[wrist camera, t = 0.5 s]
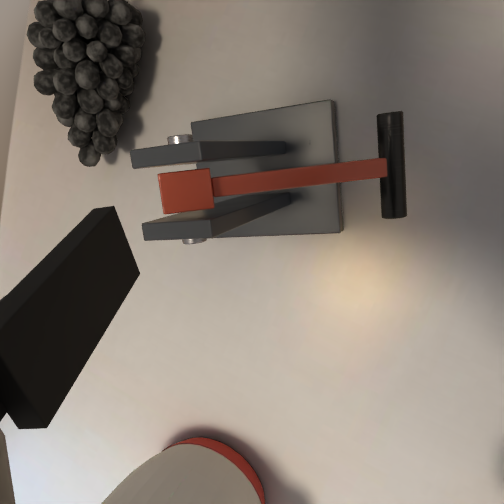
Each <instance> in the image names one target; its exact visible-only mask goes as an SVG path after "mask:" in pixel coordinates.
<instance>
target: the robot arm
mask: <svg viewBox="0 0 504 504" xmlns="http://www.w3.org/2000/svg"><path fill="white" fill-rule="evenodd" d="M139 275H140V272H139V269H138V267H137V264H136V262H135V259H134V256H133V254H132V251H131V249H130V246H129V243H128V241H127V238H126V236H125V233H124V230H123V228H122V225H121V222H120V220H119V217H118V215H117V212H116V209H115V207H114V206H110V207H103V208H96V209H93V210H92V211H91V212H90V213H89V214H88V215H87V216H86V217H85V218H84V219H83V220H82V221H81V222H80V223H79V224H78V225H77V226H76V227H75V228H74V229H73V230H72V231H71V232H70V233H69V234H68V235H67V236H66V237H65V238H64V239H63V240H62V241H61V242H60V243H59V244H58V245H57V246H56V247H55V248H54V249H53V250H52V251H51V252H50V253H49V254H48V255H47V256H46V257H45V258H44V259H43V260H42V261H41V262H40V263H39V264H38V265H37V266H36V267H35V268H34V269H33V270H32V271H31V272H30V273H29V274H28V275H27V276H26V277H25V278H24V279H23V280H22V281H21V282H20V283H19V284H18V285H17V286H16V287H15V288H14V289H13V290H12V291H11V292H10V293H9V294H8V295H6V296H5V297H3V298H2V299H1V300H0V421H1V420H2V418H3V417H4V416H5V414H6V413H8V414H9V416H10V417H11V419H12V420H13V422H14V423H15V424H16V426H17V427H18V429H37V428H47V427H48V425H49V424H50V422H51V420H52V419H53V417H54V416H55V414H56V412H57V411H58V409H59V407H60V406H61V404H62V402H63V401H64V399H65V397H66V396H67V394H68V392H69V391H70V389H71V387H72V386H73V384H74V382H75V381H76V379H77V377H78V376H79V374H80V372H81V371H82V369H83V367H84V366H85V364H86V362H87V361H88V359H89V358H90V356H91V354H92V353H93V351H94V349H95V348H96V346H97V344H98V343H99V341H100V339H101V338H102V336H103V334H104V333H105V331H106V329H107V328H108V326H109V324H110V323H111V321H112V319H113V318H114V316H115V314H116V313H117V311H118V309H119V308H120V306H121V304H122V303H123V301H124V300H125V298H126V296H127V295H128V293H129V291H130V290H131V288H132V286H133V285H134V283H135V281H136V280H137V278H138V276H139ZM0 504H15V498H14V492H13V485H12V479H11V472H10V466H9V459H8V453H7V446H6V440H5V435H4V434H3V432H2V430H1V429H0Z"/></svg>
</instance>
